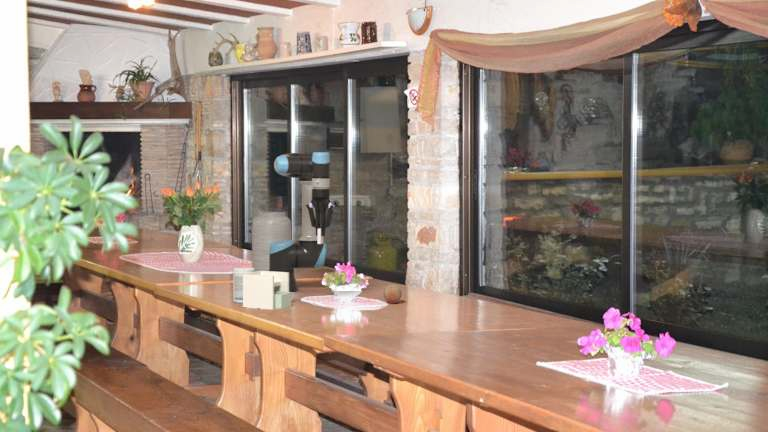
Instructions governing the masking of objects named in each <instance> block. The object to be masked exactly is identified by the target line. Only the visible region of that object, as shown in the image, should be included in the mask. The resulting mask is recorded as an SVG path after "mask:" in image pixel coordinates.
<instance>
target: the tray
mask: <svg viewBox="0 0 768 432" xmlns="http://www.w3.org/2000/svg"><path fill="white" fill-rule="evenodd" d="M292 295H293V292H282V291H274V309H273V310H284V309H288V308H291V307H292V305H293V304H292V302H293V301H292V299H293V296H292Z"/></svg>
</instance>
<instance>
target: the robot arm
mask: <svg viewBox="0 0 768 432" xmlns="http://www.w3.org/2000/svg"><path fill="white" fill-rule="evenodd" d="M273 168H274V169H273V170H274V171H275V172H276V173H277V174H278V175H280V176H283V177H286V178H290V179H291V178H295V179H296V178H297V179H298V183H300V184H301V236H300V237H299V239H298V243H295V241H294V240H292V239H291V240H287V241H279V242H274V243H272V244H271V245H270V248H269V271H275V272H289V292H292V293H293V292H297V291H298V283H297V280H296V276H295V269H317V268H319V269H320V268H322V267H324V265H325V261H326V257H327V243H325V242H324V236H326V229H327V228H329V227H330V225H331V221H332V218H333V213H334V210H335V209H336V205H335V204H332V203H331V200H330V197H331V196H330V193H331V190H330V189H329V188H330V187H331V186H330V183H331V180H330V179H331V178H330V177H331V176H330V170H331V155H330V152H328V151H327V152H325V151H324V152H323V151H321V152H320V151H317V152H316V151H314V152H290V153H285V154H284V153H283V154H280V155H279V156H277V157H276V158H275V159H274V162H273ZM327 208H328V210H327Z"/></svg>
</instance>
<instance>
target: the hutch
mask: <svg viewBox="0 0 768 432" xmlns="http://www.w3.org/2000/svg"><path fill="white" fill-rule="evenodd" d="M274 291H282V292H289V272H275V271H256V272H251V273H247V274H243V303H242V308H243V307H247V309H257V308H260V309H259V310H275V309H274Z"/></svg>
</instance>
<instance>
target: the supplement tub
mask: <svg viewBox="0 0 768 432" xmlns="http://www.w3.org/2000/svg"><path fill="white" fill-rule="evenodd" d="M251 272H255V269H254V268H252V267H235V268H233V271H232V300H233V303H236V304H243V274H247V273H251Z"/></svg>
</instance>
